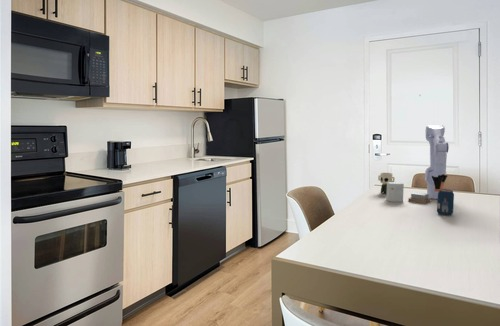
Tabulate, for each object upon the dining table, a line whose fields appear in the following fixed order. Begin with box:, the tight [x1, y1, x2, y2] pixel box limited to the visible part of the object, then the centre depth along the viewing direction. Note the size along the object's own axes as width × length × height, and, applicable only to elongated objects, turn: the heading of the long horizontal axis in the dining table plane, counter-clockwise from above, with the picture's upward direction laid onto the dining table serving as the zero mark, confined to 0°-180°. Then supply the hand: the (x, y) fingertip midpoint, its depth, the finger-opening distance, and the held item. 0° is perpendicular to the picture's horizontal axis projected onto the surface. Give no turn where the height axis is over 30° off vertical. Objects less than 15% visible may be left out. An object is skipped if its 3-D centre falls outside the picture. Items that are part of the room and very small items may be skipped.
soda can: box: [436, 188, 455, 217], centre depth 174 cm, size 7×7×12 cm
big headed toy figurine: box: [377, 172, 395, 195], centre depth 227 cm, size 11×7×13 cm, turn 40°
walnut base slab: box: [407, 196, 432, 205], centre depth 204 cm, size 9×9×2 cm
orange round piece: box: [434, 181, 446, 192], centre depth 198 cm, size 5×5×5 cm
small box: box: [385, 181, 405, 203], centre depth 206 cm, size 8×6×10 cm
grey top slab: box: [410, 191, 429, 200], centre depth 204 cm, size 7×7×2 cm
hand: (439, 188), depth 198 cm, fingers closed on orange round piece, 5 cm apart
